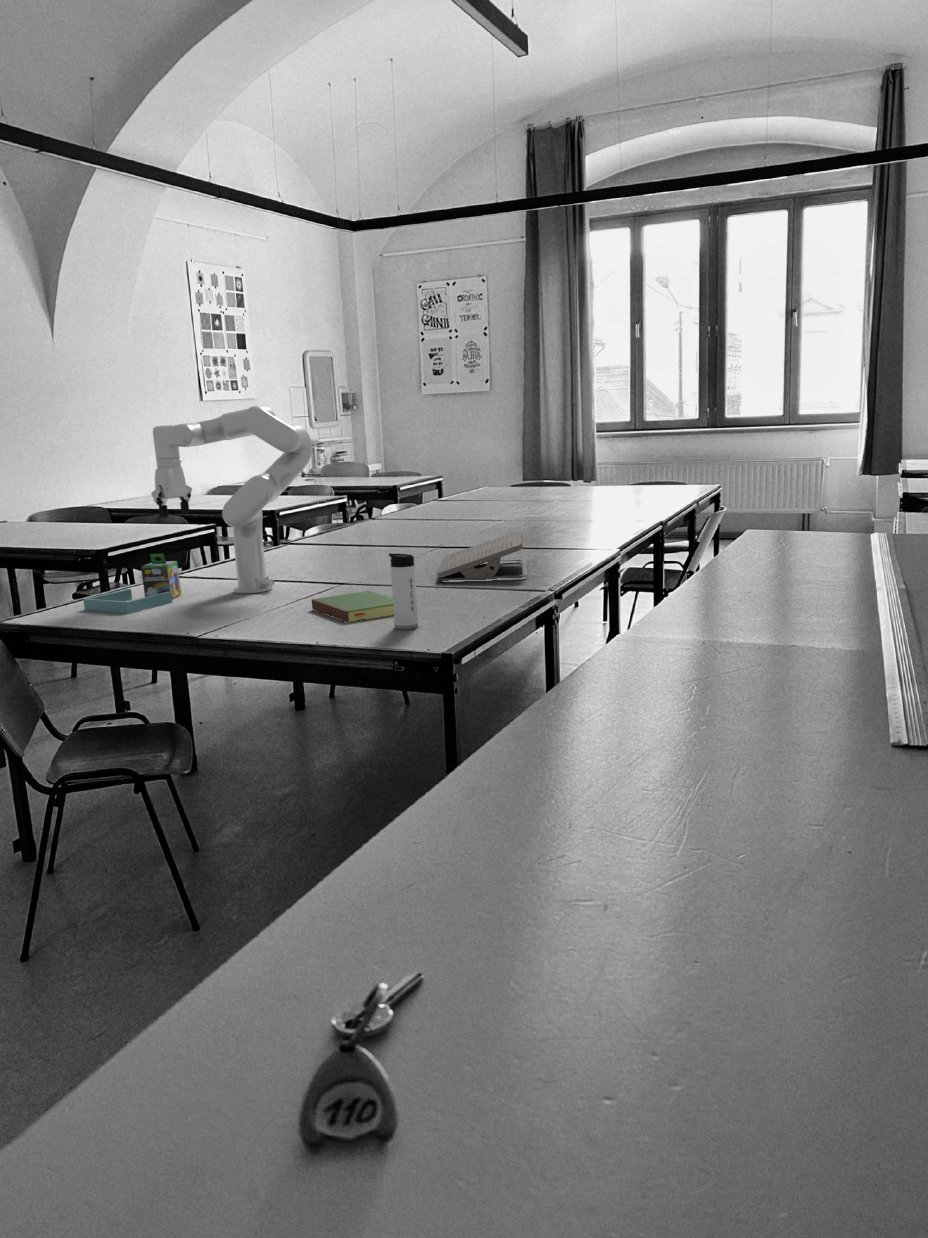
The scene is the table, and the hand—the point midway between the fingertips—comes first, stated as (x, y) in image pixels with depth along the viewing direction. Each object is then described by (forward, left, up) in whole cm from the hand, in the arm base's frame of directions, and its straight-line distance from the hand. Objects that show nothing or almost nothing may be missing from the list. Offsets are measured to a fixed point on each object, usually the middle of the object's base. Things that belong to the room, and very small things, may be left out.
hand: (175, 515), depth 328 cm
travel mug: (-104, +23, -26) cm, 110 cm away
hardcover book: (-79, +9, -27) cm, 84 cm away
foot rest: (-82, -61, -27) cm, 106 cm away
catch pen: (0, +23, -26) cm, 35 cm away
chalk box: (0, +9, -26) cm, 28 cm away
